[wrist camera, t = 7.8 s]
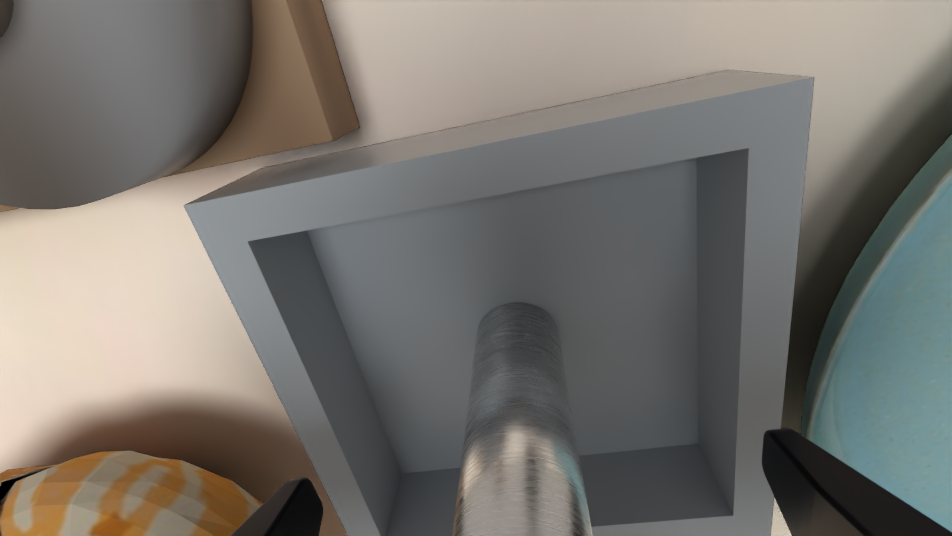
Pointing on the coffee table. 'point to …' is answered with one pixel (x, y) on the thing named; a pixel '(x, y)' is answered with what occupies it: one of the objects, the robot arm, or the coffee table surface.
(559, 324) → the tray
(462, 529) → the lock pin
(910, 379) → the teal round plate
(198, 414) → the coffee table surface
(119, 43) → the pulley block
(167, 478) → the nautilus
